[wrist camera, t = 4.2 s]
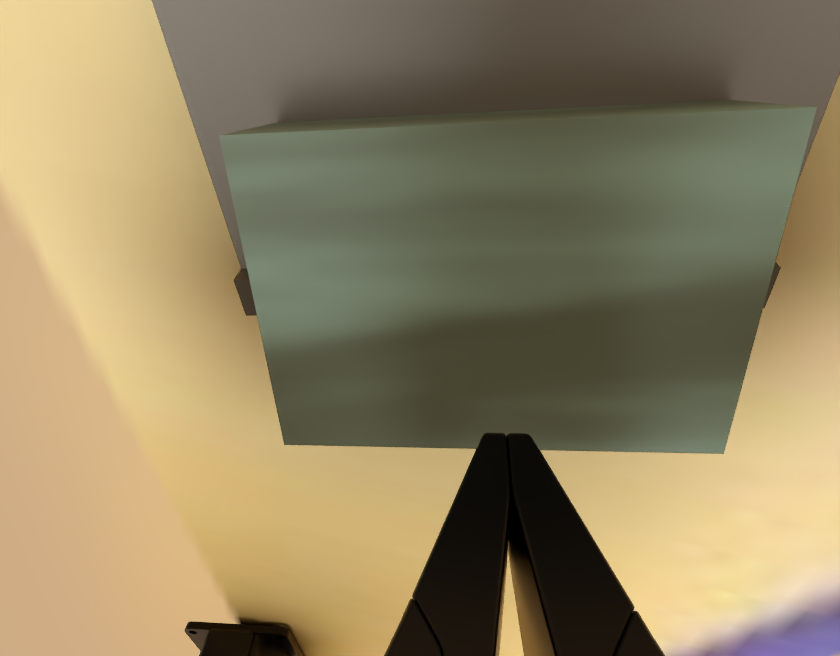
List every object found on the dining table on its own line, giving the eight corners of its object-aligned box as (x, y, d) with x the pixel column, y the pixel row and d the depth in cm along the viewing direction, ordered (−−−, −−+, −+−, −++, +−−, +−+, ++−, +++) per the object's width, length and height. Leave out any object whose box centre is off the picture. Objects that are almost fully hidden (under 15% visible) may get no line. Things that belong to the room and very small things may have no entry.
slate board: (747, 287, 14) (764, 307, 13) (257, 296, 15) (246, 315, 15) (999, -388, 7) (1065, -429, 6) (80, -250, 9) (42, -268, 8)
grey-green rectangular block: (723, 453, 11) (816, 106, 8) (284, 444, 12) (218, 135, 9) (674, 380, 14) (730, 100, 11) (318, 378, 15) (276, 122, 12)
